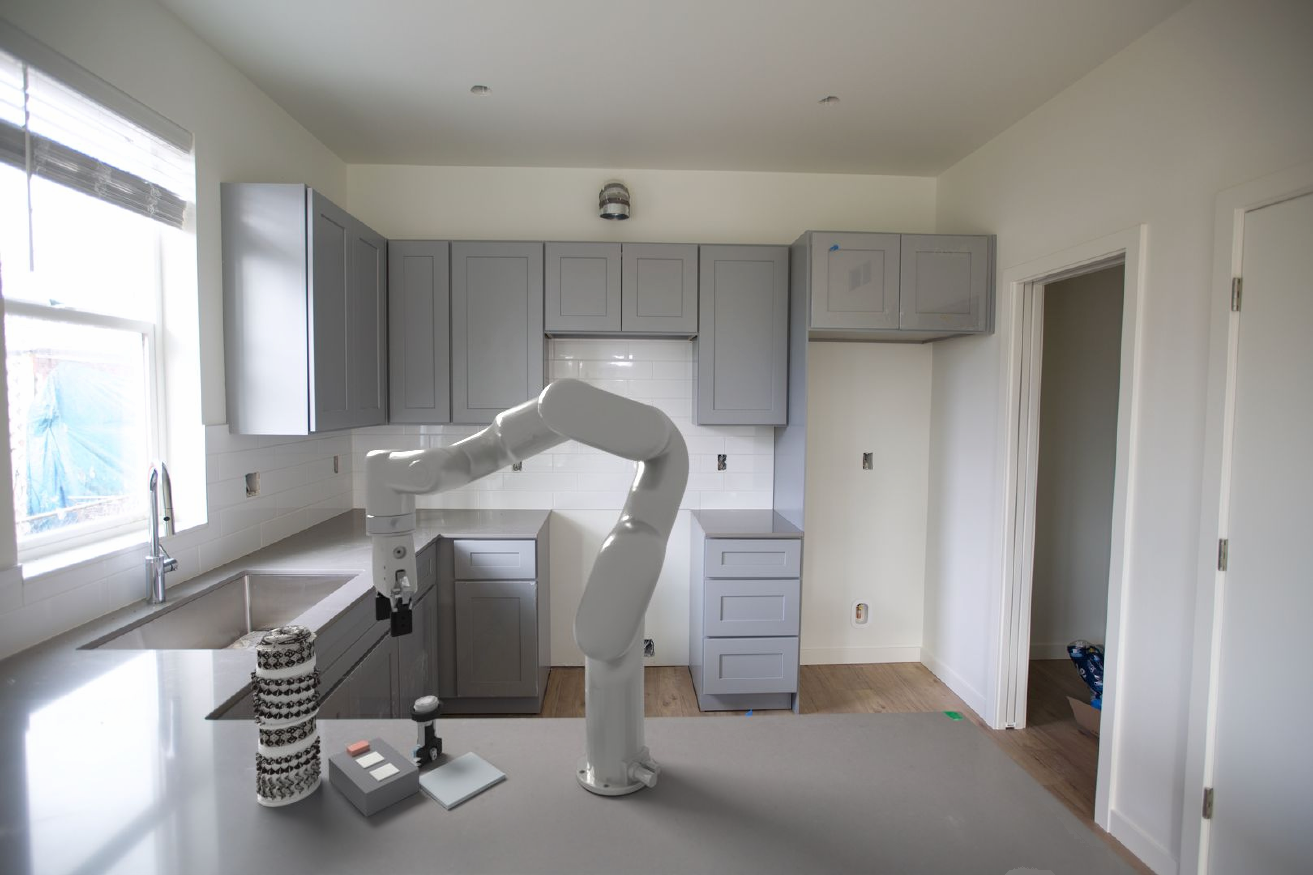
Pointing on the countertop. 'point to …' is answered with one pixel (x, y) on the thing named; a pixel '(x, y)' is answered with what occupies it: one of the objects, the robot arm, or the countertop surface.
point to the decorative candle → (286, 716)
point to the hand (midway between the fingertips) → (393, 626)
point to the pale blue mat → (459, 779)
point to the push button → (426, 729)
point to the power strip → (373, 775)
